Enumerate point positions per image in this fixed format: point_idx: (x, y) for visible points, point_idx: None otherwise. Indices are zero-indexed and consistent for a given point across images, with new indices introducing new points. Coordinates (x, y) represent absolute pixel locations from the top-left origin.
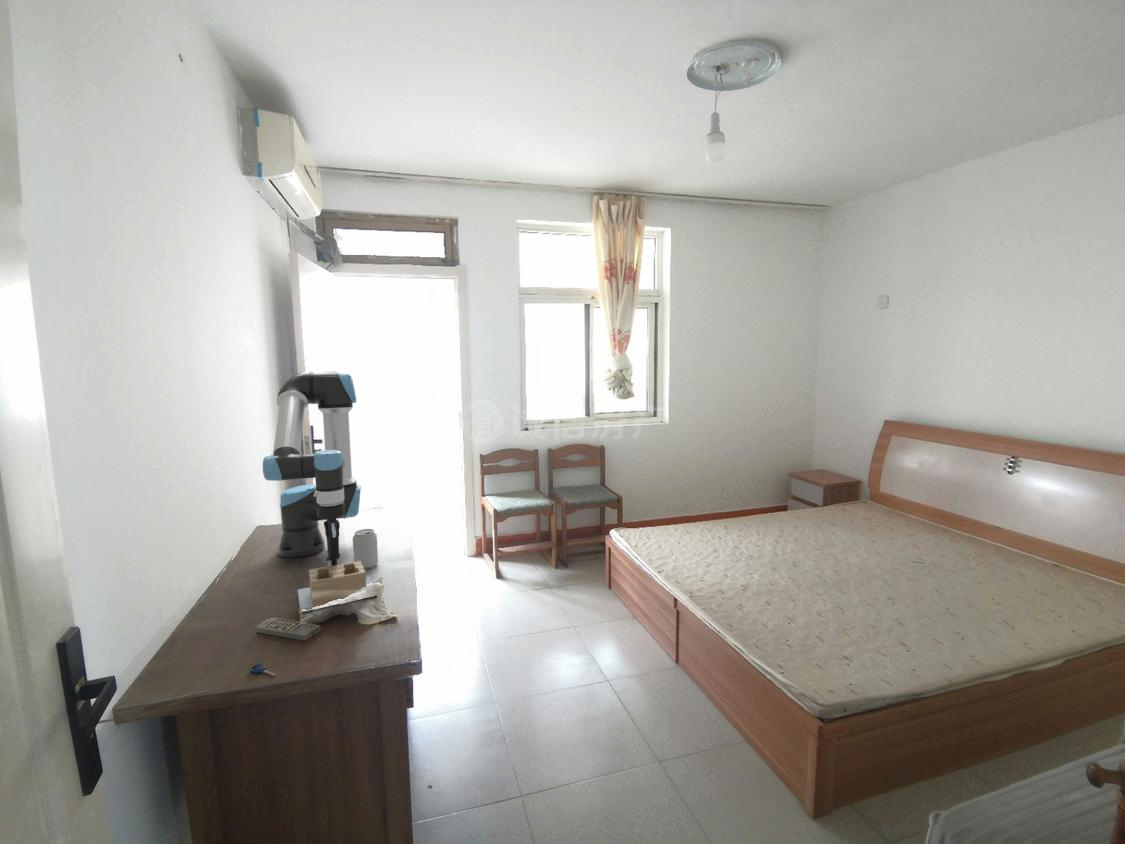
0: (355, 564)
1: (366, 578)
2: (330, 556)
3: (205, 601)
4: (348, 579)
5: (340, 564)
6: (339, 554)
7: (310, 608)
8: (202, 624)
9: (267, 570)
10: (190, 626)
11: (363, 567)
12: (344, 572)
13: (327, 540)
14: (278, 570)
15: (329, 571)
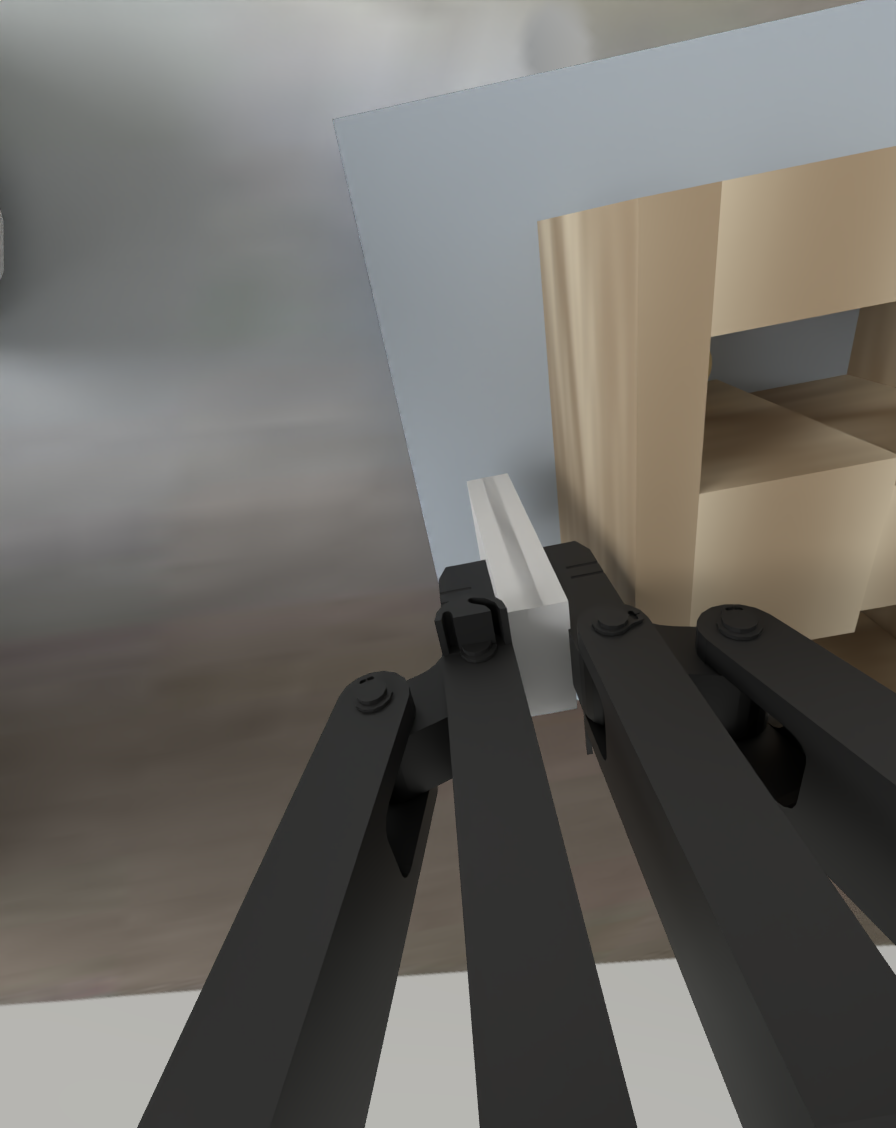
0: (793, 295)
1: (423, 156)
2: (801, 756)
3: (411, 969)
4: None
5: (646, 536)
6: (494, 618)
7: None
8: (642, 926)
9: (41, 886)
10: (637, 946)
11: (1, 216)
12: (866, 450)
13: (384, 1026)
14: (41, 846)
15: (821, 632)
